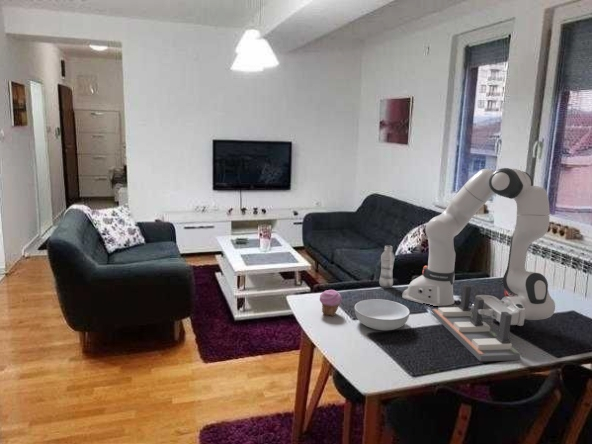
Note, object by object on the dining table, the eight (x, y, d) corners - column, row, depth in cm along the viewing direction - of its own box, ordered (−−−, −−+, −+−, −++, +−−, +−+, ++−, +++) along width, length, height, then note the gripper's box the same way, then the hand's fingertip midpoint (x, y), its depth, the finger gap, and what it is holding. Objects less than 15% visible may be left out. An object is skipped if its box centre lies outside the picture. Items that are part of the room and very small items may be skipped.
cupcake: (315, 315, 187) (316, 291, 185) (323, 308, 194) (324, 285, 192) (336, 319, 183) (337, 295, 181) (343, 312, 191) (345, 289, 189)
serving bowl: (409, 318, 187) (410, 302, 186) (406, 340, 167) (408, 323, 166) (357, 311, 192) (358, 295, 191) (349, 332, 173) (350, 314, 171)
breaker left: (462, 310, 185) (465, 287, 183) (458, 306, 189) (460, 283, 187) (470, 310, 186) (473, 287, 184) (465, 306, 190) (468, 283, 188)
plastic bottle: (382, 289, 219) (385, 248, 215) (376, 284, 225) (379, 244, 221) (395, 288, 221) (398, 247, 216) (388, 284, 227) (391, 244, 223)
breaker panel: (480, 361, 154) (481, 350, 153) (431, 313, 193) (432, 304, 192) (519, 360, 156) (521, 349, 155) (463, 312, 195) (464, 303, 194)
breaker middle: (475, 325, 172) (478, 300, 170) (469, 321, 175) (472, 296, 173) (483, 325, 172) (486, 300, 170) (477, 321, 176) (480, 296, 174)
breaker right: (501, 343, 158) (505, 316, 156) (495, 337, 162) (498, 311, 160) (510, 342, 159) (514, 315, 157) (504, 337, 163) (507, 311, 160)
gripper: (496, 290, 184) (463, 291, 182) (528, 311, 164) (490, 311, 162) (494, 305, 185) (461, 306, 183) (525, 327, 165) (488, 328, 163)
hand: (475, 309), depth 172 cm, fingers closed on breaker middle, 3 cm apart
